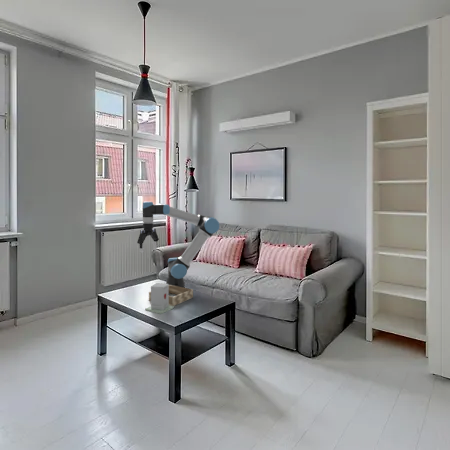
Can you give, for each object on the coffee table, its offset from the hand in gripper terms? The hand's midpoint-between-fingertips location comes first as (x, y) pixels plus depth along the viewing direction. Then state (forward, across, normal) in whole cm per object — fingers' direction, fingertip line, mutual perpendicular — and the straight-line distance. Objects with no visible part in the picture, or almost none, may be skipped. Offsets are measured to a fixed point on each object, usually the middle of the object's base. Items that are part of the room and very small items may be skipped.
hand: (148, 251), depth 255 cm
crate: (+32, +2, +23) cm, 39 cm away
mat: (+32, +22, +30) cm, 49 cm away
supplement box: (+31, +22, +30) cm, 48 cm away
